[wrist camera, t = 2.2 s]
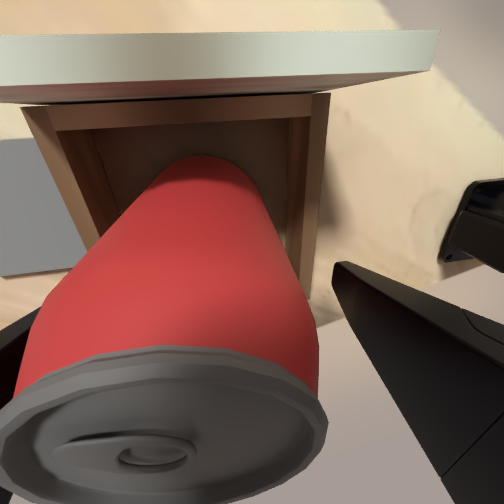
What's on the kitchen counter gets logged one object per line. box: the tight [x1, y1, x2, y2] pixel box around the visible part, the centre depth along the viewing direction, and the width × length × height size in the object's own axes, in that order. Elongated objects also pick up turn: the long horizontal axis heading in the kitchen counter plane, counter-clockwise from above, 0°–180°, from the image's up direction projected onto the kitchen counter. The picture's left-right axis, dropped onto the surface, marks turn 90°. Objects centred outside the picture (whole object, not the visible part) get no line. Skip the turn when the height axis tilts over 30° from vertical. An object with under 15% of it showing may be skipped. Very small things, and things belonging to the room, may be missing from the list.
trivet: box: [0, 138, 87, 276], centre depth 13 cm, size 6×7×1 cm
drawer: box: [0, 30, 441, 299], centre depth 11 cm, size 12×12×8 cm
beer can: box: [0, 155, 328, 504], centre depth 9 cm, size 7×7×12 cm
